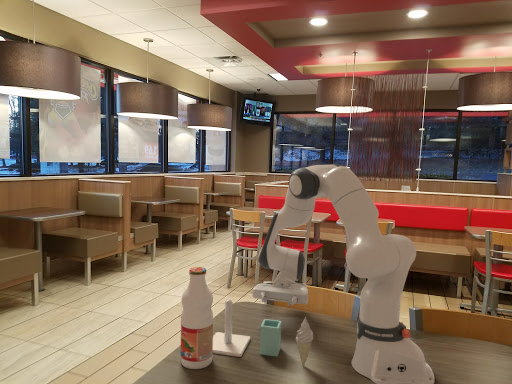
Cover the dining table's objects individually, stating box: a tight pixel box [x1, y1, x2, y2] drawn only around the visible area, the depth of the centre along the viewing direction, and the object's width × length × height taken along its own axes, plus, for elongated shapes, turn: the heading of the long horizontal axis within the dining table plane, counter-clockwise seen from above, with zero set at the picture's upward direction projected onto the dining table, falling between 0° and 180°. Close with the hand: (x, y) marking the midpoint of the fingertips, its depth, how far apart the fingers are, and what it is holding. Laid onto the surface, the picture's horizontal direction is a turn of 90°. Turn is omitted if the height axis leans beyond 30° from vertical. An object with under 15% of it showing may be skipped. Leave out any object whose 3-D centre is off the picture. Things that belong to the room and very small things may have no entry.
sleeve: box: [259, 318, 282, 357], centre depth 119 cm, size 6×6×9 cm
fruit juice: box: [180, 266, 214, 370], centre depth 111 cm, size 9×9×28 cm
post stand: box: [213, 299, 251, 358], centre depth 121 cm, size 12×12×15 cm
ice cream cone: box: [295, 316, 314, 367], centre depth 110 cm, size 5×5×15 cm
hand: (277, 301), depth 130 cm, fingers open, 8 cm apart
